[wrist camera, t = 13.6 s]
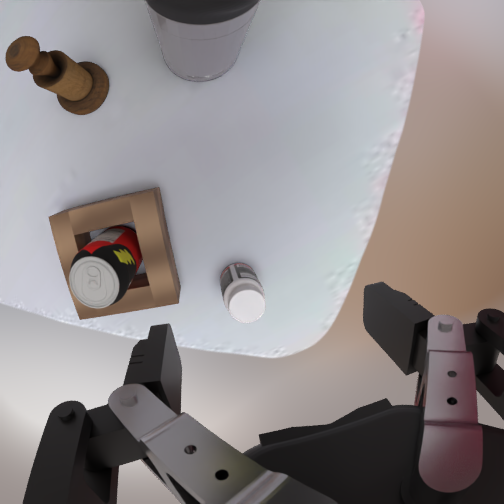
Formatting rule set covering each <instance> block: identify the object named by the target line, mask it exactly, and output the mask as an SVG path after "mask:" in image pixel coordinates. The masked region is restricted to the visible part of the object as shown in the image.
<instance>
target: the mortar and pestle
mask: <svg viewBox="0 0 504 504" xmlns="http://www.w3.org/2000/svg"><path fill="white" fill-rule="evenodd" d="M6 63H7V65H8V67H9V68H10V69H12V70H14V71H18V72H19V71H24V70H27V69H29V71H30V73H31V74H33V79H34V81H35V83H36V84H37V85H38V86H39V87H42V88H44V89H47V90H49V91H51V92H54V93H56V94H57V98H58V101H59V103H60V105H61V106H62V107H63V108H64V109H65V110H67V111H69V112H71V113H74V114H77V115H85V114H89V113H91V112H93V111H95V110H96V109H97V108H99V107H100V106H101V104H102V103H103V102H104V100H105V98H106V96H107V93H108V90H109V80H108V77H107V74H106V73H105V71H104V70H103V69H101V68H100V67H99V66H98V65H97V64H95V63H92V62H80V63H76V62H75V61H73V60H72V59H71V58H69V57H68V56H67V55H66V54H64V53H63V52H61V51H57V50H55V51H50V52H46V51H41V52H40V46H39V43H38V41H37V40H36V39H35V38H33V37H30V36H23V37H20V38H18V39H16V40H15V41H13V42H12V43H11V45H10V46H9V47H8V49H7V52H6Z"/></svg>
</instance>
